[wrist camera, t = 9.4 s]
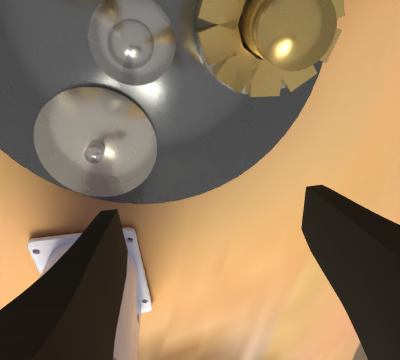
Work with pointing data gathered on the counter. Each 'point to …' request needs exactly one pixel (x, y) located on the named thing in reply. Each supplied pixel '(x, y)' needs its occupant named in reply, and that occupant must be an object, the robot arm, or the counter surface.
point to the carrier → (128, 100)
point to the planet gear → (268, 41)
